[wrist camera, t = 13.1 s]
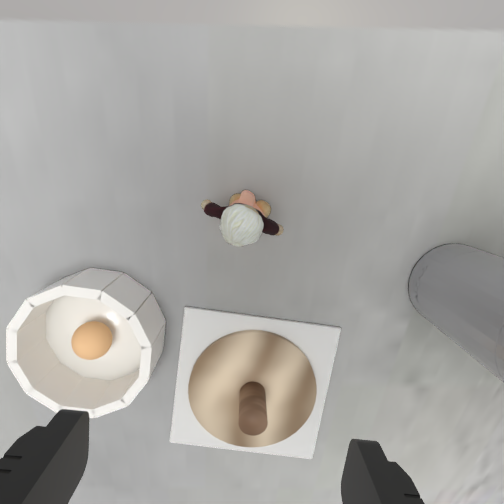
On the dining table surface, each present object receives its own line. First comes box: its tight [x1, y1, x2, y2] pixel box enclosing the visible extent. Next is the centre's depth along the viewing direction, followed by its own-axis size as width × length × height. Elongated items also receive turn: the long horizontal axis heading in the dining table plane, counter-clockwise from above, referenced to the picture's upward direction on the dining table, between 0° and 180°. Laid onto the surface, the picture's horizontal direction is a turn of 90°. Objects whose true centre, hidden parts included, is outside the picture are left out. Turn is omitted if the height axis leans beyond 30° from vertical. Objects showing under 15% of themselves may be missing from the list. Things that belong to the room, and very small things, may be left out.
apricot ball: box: [71, 321, 113, 360], centre depth 37 cm, size 4×4×4 cm
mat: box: [170, 306, 341, 459], centre depth 42 cm, size 18×18×1 cm
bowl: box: [6, 268, 166, 418], centre depth 37 cm, size 14×14×6 cm
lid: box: [188, 330, 317, 447], centre depth 39 cm, size 15×15×6 cm
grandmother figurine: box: [201, 190, 283, 247], centre depth 31 cm, size 8×4×13 cm, turn 82°
